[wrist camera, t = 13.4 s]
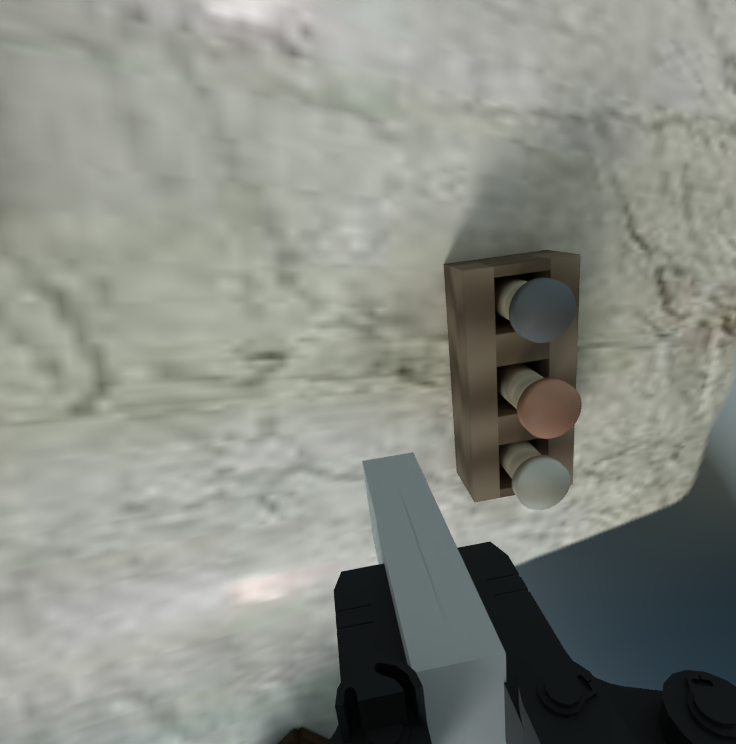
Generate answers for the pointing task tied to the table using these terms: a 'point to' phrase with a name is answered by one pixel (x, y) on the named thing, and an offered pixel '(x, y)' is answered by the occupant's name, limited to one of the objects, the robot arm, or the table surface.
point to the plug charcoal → (535, 306)
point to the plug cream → (534, 475)
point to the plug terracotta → (539, 400)
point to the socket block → (499, 348)
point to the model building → (303, 738)
